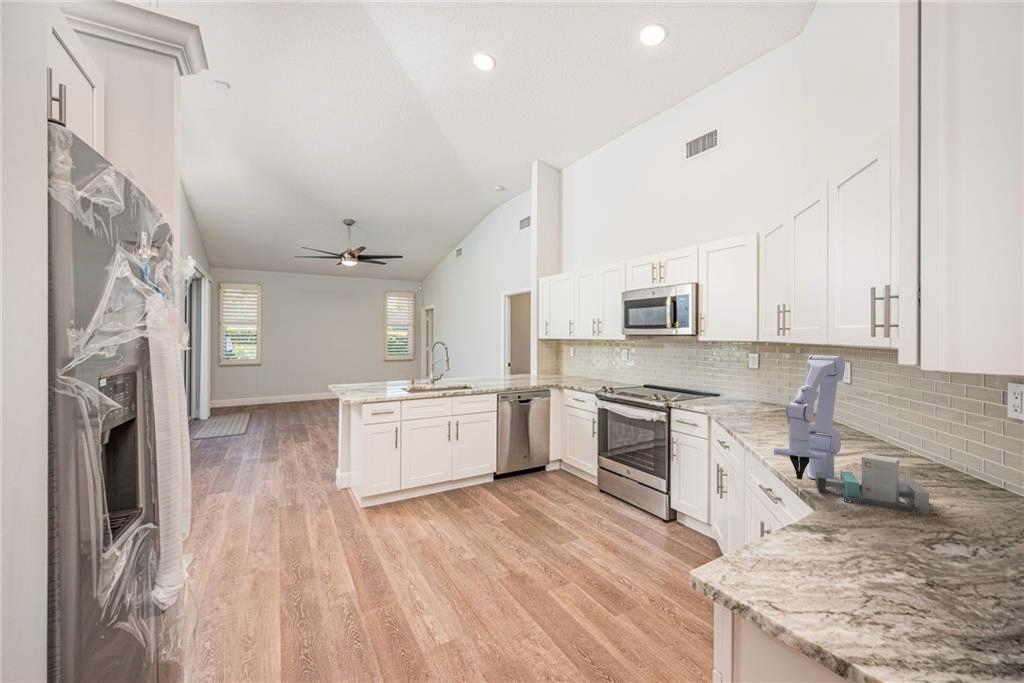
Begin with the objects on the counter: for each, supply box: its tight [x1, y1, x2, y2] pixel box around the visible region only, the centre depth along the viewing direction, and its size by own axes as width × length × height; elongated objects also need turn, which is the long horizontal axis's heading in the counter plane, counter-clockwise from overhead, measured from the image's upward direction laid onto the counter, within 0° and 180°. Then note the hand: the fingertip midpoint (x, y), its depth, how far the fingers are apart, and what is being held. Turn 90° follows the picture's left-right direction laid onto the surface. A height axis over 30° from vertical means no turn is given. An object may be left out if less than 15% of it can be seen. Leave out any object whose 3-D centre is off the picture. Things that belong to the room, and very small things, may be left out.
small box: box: [860, 453, 900, 503], centre depth 127 cm, size 8×6×13 cm
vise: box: [842, 475, 930, 515], centre depth 127 cm, size 15×19×6 cm
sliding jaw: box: [815, 470, 860, 498], centre depth 133 cm, size 11×10×6 cm
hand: (799, 478), depth 138 cm, fingers closed
